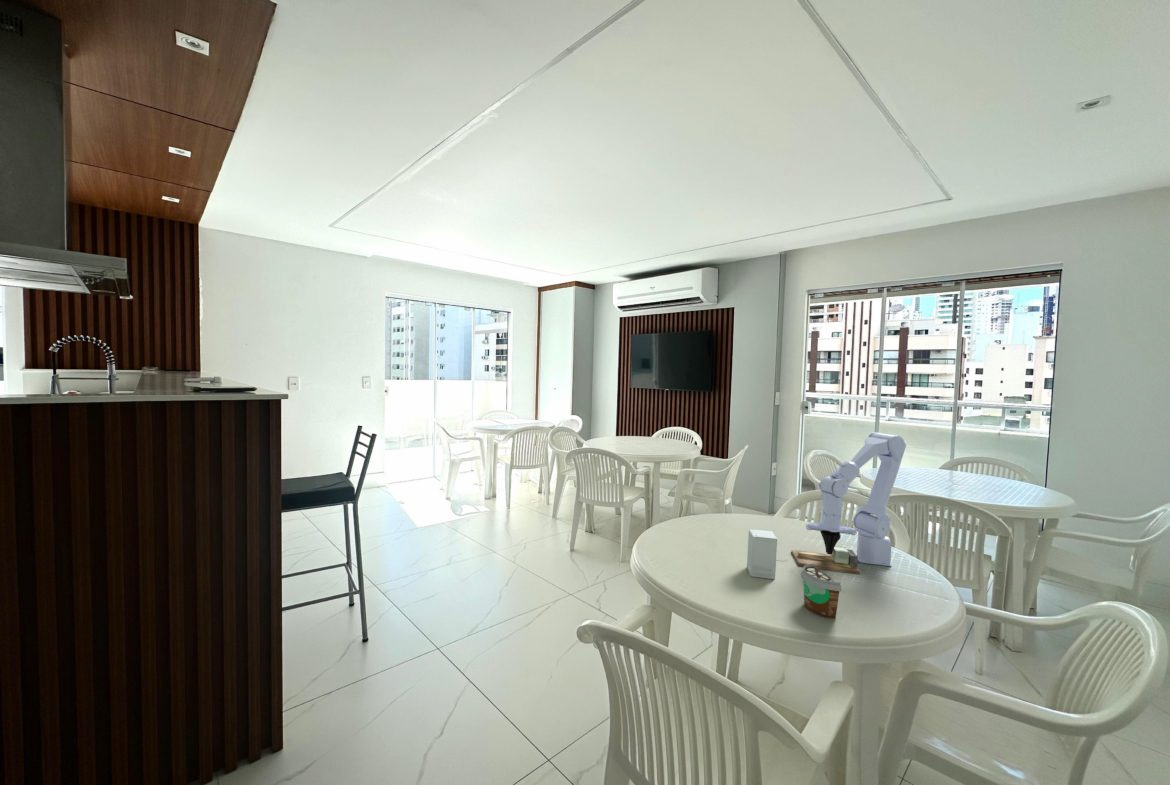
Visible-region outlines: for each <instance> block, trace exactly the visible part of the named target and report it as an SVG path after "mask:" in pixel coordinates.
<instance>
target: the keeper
mask: <svg viewBox="0 0 1170 785" xmlns="http://www.w3.org/2000/svg"><path fill="white" fill-rule="evenodd" d="M832 556H834V562H836V563H844V564H848V563H849V552H848V550H847V548H846V547H845V546H838V545H837V546H836V545H835V547H834V549H833V552H832Z"/></svg>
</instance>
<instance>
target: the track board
mask: <svg viewBox="0 0 1170 785" xmlns="http://www.w3.org/2000/svg"><path fill="white" fill-rule="evenodd" d="M846 549H847V548H846ZM847 550H848V552H849V563H848V564H844V563H836V562H834V556H832V555H831V554H827V553H822V552H816V551H815V552H814V551H808V550H799V549H797V550H796V549H791V554H792V556H793V558H794V560H795V561H796V564H797V565H798V567H802V568H804V566H805V565H807V564H813V563H814V567H815V568H816V569H818V570H824V571H825V570H827V571H832V572H833V571H834V572H841V573H849V574H857V575H861V570H860V569H859V568H858V560H857V559H858V556H857V555H856V554H855V553H856V552H854V551H853V550H852V549H847Z"/></svg>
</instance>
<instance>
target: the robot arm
mask: <svg viewBox="0 0 1170 785" xmlns="http://www.w3.org/2000/svg"><path fill="white" fill-rule="evenodd" d="M906 449H907V444H906V442H905V440H904V438H903V437H902V436H901V435H897V434H895V435H894V434H888V433H881V432H877V431H873V432H870V434H869V435H867V437H866V438H865V439H864V445H863V446H862V447H861V448H860V449H859V450H858V452H856V454H855V455H854V456H853V458H852V459H850V461H843V462H841V463H840V466H839V467H837V468H836V470H834V471H833V472H832V473H831V475H828V476H825V477H823V478H822V479H821V481H820V483H819V484H818V488H819V490H820V492H821V497H822V502H821V503H822V504H821V518H820V519H821V520H820V522H819V523H818V522H806V523H805V524H806V525H805V529H806V530H807V531H818V532H820V534H821V537H822V540H823V542H824V547H825V554H831V555H832V552H833V549H834V547H835V546H836V545H837V543H838V542H839V540H841V534H844V535H851V536H856V532H857V545H856V547H857V548H856V552H854V553H855V554H856V555H857V556H858V559H857V562H859V563H862V564H870V565H877V566H886V567H892V564H891V558H892V542H891V539H890V537H889V536H887V535H888V534H889V533H890V528H891V526H890V523H891V520H892V519H891V517H890V515H889V514H888V512H887V511H886V509H887V506H888V503H889V500H890V496H891V493H892V490H893V489H894V484H895V482H896V479H897V476H898V473H899V469H900V466H901V463H902V459H903V456H904V453H905V450H906ZM875 456H876V457H878V458H879V460H880V465H879V467H878V469H877V470H878V471H877V473H876V476H875V479H874V483H873V485H872V489H871V492H870V494H869V496H868V501H867V503H866V504H863V505H862V506H859V507H858V510H857V512H856V513H855V515H854V516H853V520H852V524H853V527H849V526H845V525H841V523H842V508H843V497H844V496H845V495H846V494H847V492H848V489H849V487H850V484H851V483H852V482H853V481H854V480H855V479H856V478H857V477H858V476H859V475H860V474H861V472H860V470H861V468H862V467H863V466H864V465H866V464H867V463H868V462H870V460H872V458H875ZM854 527H855V528H854Z"/></svg>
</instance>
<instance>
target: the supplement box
mask: <svg viewBox="0 0 1170 785" xmlns="http://www.w3.org/2000/svg"><path fill="white" fill-rule="evenodd" d="M747 538H748V540H747V558H746V560H747V561H746V569H747V571H748V573H749V576H750V577H753V578H754V577H755V578H762V579H770V580H775V578H776V567H777V552H778V551H777V548H778V538H777V536H776V535H775V534H774V531H772V530H771V531H770V530H761V529H751V528H750V529H748V537H747Z"/></svg>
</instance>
